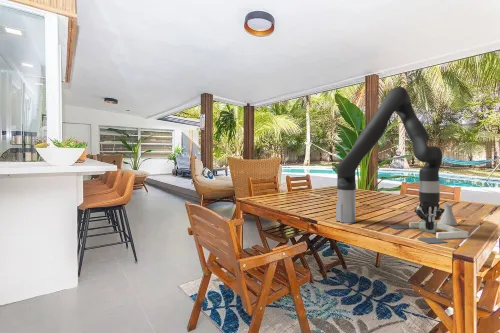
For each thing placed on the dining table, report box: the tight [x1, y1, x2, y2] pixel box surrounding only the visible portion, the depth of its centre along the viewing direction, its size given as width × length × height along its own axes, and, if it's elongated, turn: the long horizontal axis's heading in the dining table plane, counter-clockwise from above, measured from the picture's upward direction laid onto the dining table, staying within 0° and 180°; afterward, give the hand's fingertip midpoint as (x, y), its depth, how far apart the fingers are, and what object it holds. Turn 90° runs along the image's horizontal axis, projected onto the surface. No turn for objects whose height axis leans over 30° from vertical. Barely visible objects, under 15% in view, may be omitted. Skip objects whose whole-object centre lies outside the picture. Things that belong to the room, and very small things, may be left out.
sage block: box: [418, 219, 438, 234], centre depth 116 cm, size 6×6×4 cm
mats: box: [387, 223, 448, 245], centre depth 112 cm, size 8×26×1 cm, turn 4°
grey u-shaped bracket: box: [408, 221, 469, 240], centre depth 113 cm, size 14×17×2 cm
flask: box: [438, 203, 459, 227], centre depth 125 cm, size 7×7×10 cm
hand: (429, 229), depth 112 cm, fingers closed
